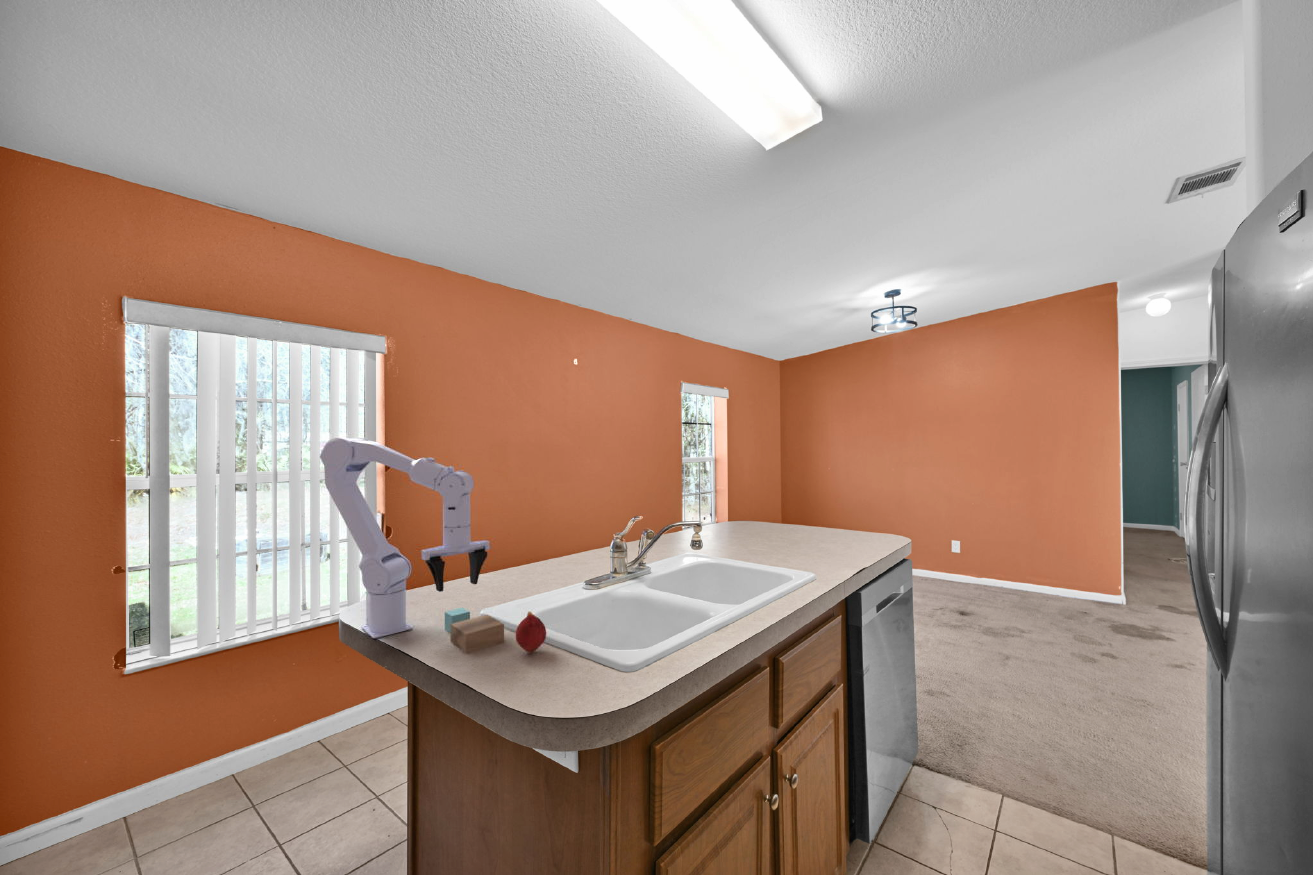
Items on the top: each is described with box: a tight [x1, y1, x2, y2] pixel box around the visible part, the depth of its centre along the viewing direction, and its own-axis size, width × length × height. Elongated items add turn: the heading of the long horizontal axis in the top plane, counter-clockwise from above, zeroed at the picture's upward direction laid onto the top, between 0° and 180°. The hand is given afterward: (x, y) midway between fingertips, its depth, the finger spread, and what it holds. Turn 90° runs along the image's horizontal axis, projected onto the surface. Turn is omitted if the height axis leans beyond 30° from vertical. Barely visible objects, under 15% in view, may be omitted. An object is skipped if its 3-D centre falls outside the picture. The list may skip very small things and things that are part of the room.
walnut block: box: [450, 614, 505, 654], centre depth 104 cm, size 8×8×4 cm
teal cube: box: [444, 607, 471, 634], centre depth 111 cm, size 4×4×4 cm
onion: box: [515, 611, 547, 654], centre depth 98 cm, size 6×6×8 cm
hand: (457, 586), depth 111 cm, fingers open, 7 cm apart
